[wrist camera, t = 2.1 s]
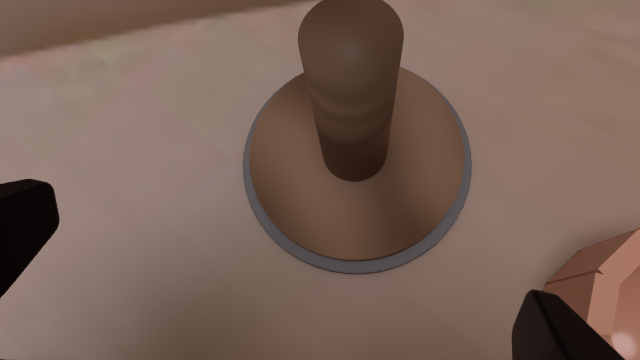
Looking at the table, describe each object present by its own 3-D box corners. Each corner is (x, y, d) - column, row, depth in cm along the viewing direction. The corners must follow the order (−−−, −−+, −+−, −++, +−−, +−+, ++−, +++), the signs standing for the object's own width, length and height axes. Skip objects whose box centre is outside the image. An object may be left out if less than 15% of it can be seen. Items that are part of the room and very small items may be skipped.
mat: (343, 326, 20) (343, 326, 19) (202, 152, 23) (199, 149, 23) (519, 169, 21) (521, 166, 21) (363, 27, 25) (364, 22, 24)
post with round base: (344, 308, 20) (329, 290, 11) (213, 150, 23) (115, 30, 14) (506, 165, 21) (615, 41, 12) (363, 33, 24) (364, -144, 15)
